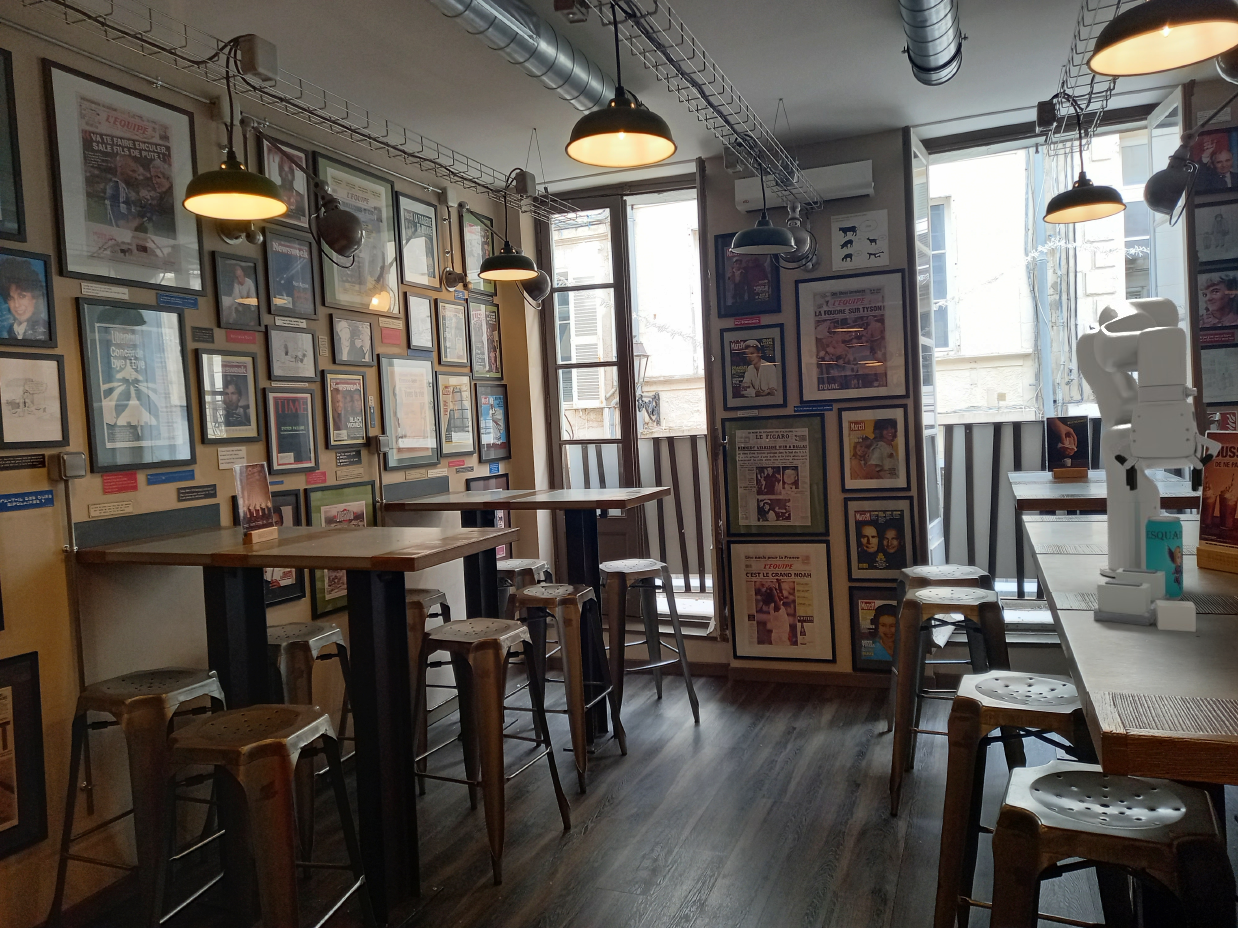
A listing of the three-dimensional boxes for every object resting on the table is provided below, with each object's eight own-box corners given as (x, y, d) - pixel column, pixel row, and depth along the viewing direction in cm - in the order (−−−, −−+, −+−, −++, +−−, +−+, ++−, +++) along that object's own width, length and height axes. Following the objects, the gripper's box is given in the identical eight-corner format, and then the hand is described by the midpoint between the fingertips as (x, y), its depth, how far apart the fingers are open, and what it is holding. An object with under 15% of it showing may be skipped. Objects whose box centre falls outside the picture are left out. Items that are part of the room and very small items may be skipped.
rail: (1118, 599, 159) (1118, 589, 158) (1169, 604, 153) (1169, 593, 153) (1093, 619, 145) (1093, 608, 145) (1148, 625, 140) (1148, 613, 140)
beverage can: (1171, 603, 154) (1170, 520, 153) (1139, 598, 159) (1138, 517, 158) (1190, 598, 157) (1189, 517, 156) (1158, 593, 162) (1157, 514, 161)
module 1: (1103, 606, 148) (1103, 578, 148) (1150, 610, 143) (1150, 582, 143) (1097, 610, 145) (1097, 582, 145) (1145, 615, 140) (1145, 586, 140)
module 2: (1120, 592, 158) (1120, 566, 158) (1165, 596, 153) (1165, 569, 153) (1115, 596, 155) (1115, 570, 155) (1161, 600, 150) (1160, 573, 150)
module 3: (1155, 624, 141) (1155, 599, 141) (1191, 626, 139) (1191, 601, 139) (1158, 629, 138) (1158, 605, 137) (1195, 632, 135) (1195, 607, 135)
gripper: (1223, 393, 153) (1224, 489, 154) (1113, 399, 165) (1114, 488, 165) (1217, 393, 147) (1218, 493, 148) (1103, 399, 159) (1105, 491, 160)
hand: (1163, 490), depth 157 cm, fingers open, 9 cm apart
